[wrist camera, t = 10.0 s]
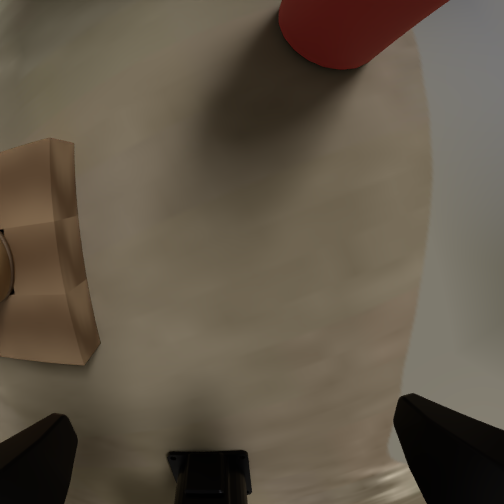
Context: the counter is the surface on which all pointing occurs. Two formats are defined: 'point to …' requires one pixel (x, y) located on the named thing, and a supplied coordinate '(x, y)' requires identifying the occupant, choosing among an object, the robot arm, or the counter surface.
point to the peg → (6, 268)
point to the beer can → (348, 27)
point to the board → (44, 257)
